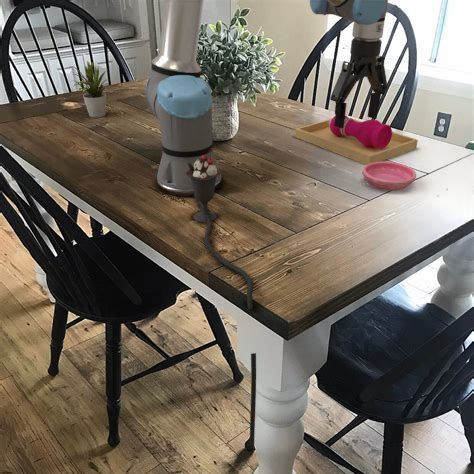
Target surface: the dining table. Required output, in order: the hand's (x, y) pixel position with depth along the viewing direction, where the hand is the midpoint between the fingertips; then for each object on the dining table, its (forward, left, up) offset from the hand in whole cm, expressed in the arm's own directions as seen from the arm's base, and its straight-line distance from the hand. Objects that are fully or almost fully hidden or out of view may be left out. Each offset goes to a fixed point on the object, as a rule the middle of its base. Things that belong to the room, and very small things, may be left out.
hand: (355, 122), depth 151 cm
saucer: (-28, +1, -6) cm, 29 cm away
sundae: (-39, +46, -6) cm, 60 cm away
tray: (0, 0, -6) cm, 6 cm away
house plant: (+38, +74, -6) cm, 83 cm away
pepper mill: (-9, -5, -1) cm, 10 cm away
